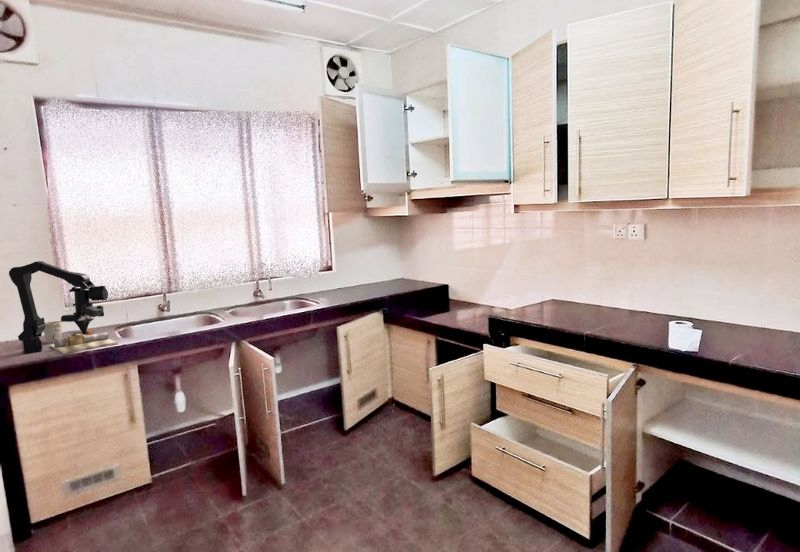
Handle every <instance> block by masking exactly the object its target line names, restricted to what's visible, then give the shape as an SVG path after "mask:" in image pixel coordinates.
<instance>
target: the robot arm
mask: <svg viewBox="0 0 800 552" xmlns="http://www.w3.org/2000/svg"><path fill="white" fill-rule="evenodd" d="M38 272H42V273H44V274H47V275H49V276H50V275H51V276H53V277H55V278H58V279H61V280H63V281H65V282H67V284H68V285H69V284H70V285H71V286H72V287H70V289H69V290H68V292H69V293H74V295H73V296H74V303H72V307H75V308H74V309H75V310H74V311H75V312H73V313H72V314H70V313H68V314H64V315H61V317H60V321H61V322H62V323H64V322H66V323H68V322H69V323H70V322H71V323H72V322H74V323H75V325H76V326H77V327H78V329H79V331H81V332H82V333H83V334H86V331H87V330H88V327H89V324H90V323H91V322H92V321H93V320H94V318H96V317H99V318H100V317H104V316H105V312H104V306H103V305H101V304H100V305H97V306H94V305H93V303H92V302H93V301H95V302H96V301H107V300H108V298H109V292H108V289H107V287H106V285H97V286H96V285H95V284H94V282H92V280H91V278H90V276H89V275H88V274H86V273H81V272H76V271H75V272H74V271H69V270H66V269H63V268H61V267H58V266H55V265H52V264H50V263H48V262H44V261H42V260H38V261H34V262H31V263H29V264H25V265H22V266H13V267H11V268H10V270H9V271H8V276H9V278H10V280H11V282H12V283H13V284H14V285H15V286H16V288H17V293H18V298H19V300H20V301H19V302H20V304H21V308H22V313H23V316H24V318H23V322H22V332H21V333H20V334H19V335H18V336H17V339H18V341H20V342H21V347H22V350H21V353H23V354H24V355H25V354H26V355H27V354H32V353H37V352H42V351H43V345H42V344H43V343H42V340H41V339H40V337H42V334H43V333H44V330H45V326H46V324H45V323H46V322H45V318H44V317H40V316H39V314H38V312H37V308H36V304H35V300H34V297H33V293H32V292H33V291H32V288H31V282H32V279H33V278H32V274H35V273H38ZM90 300H91V301H92V302H90Z"/></svg>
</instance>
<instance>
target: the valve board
mask: <svg viewBox="0 0 800 552" xmlns="http://www.w3.org/2000/svg"><path fill="white" fill-rule="evenodd" d="M118 342H119V341H116V340H113V339H110V338H109V333H108V331H106V332H102V333H101V332H100V333H94V334H91V335H82V334H77V335H71V334H68V335H66V337H64V338H63V339H61V340H57V341H54V343H52V344H49V348H50V349H54V350H55V351H58V352H60V353H61V354H69V353H70V354H71V353H75V352H81V351H87V350H91V349H98V348H103V347H102V346H104V347H108V346H107V345H110V346H113V345H112V344H115V345H118V344H119V343H118ZM117 343H118V344H117Z"/></svg>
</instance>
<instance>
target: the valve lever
mask: <svg viewBox="0 0 800 552" xmlns="http://www.w3.org/2000/svg"><path fill="white" fill-rule="evenodd" d="M94 332H95V331H94V330H91V329H90V330H88V329H87V331H86V334H83V333H82V332H81V330H72V331H71V332H70V335H77V334H81V335H85V336H88V335H94V334H95V333H94Z"/></svg>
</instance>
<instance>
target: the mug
mask: <svg viewBox="0 0 800 552" xmlns="http://www.w3.org/2000/svg"><path fill="white" fill-rule="evenodd" d="M45 324H46V326H45V330H44V331H43V334H44V338H45V342H46V344H51V343H50V342H54V341H57V340H62V334H63V333H62V331H63V322H61V320H57V321H55V320H54V321H53V320H52V321H48V322H45Z"/></svg>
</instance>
